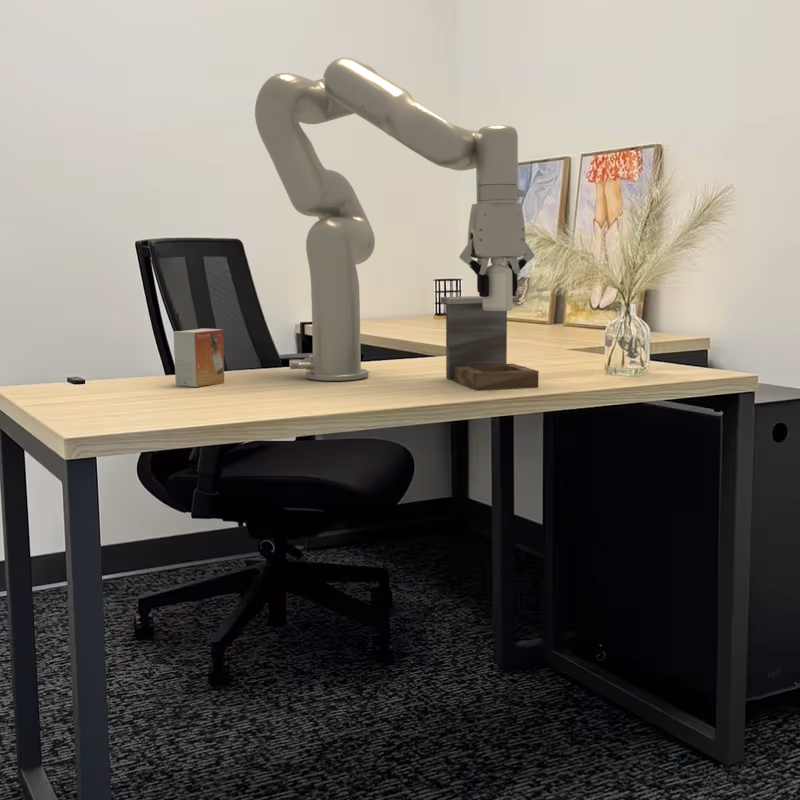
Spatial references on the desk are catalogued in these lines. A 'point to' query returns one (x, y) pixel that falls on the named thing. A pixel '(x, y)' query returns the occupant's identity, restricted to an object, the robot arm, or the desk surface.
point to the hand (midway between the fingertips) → (497, 295)
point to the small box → (199, 357)
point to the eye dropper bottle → (498, 287)
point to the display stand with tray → (481, 347)
